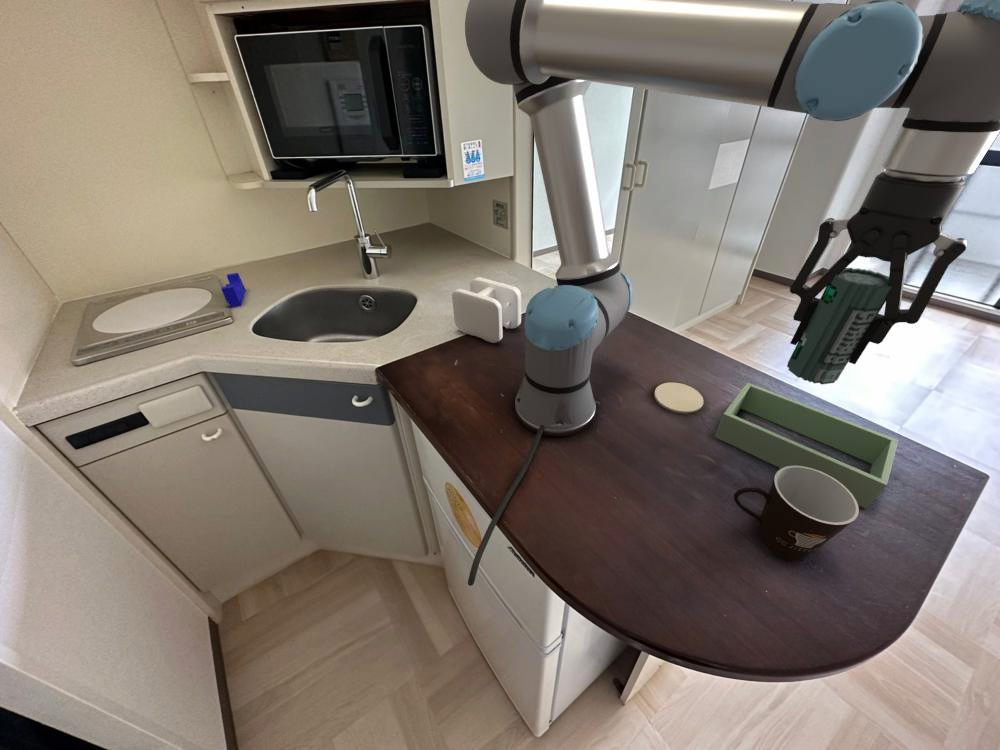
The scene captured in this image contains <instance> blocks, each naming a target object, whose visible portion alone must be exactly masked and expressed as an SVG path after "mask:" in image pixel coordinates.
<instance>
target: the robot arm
mask: <svg viewBox="0 0 1000 750" xmlns="http://www.w3.org/2000/svg"><path fill="white" fill-rule="evenodd" d="M464 35H465V42H466V47H467V51H468V53H469V56H470V58H471V60H472V62H473V64H474V65H475V67H476V68H477V69H478V71H479V72H480V73H481V74H482V75H483V76H485V77H486V78H487V79H489V80H490V81H492V82H494V83H497V84H500V85H507V86H508V85H509V86H512V88H513V92H514V96H515V100H516V101H515V102H516V105H517V109H519V110H520V111H521V112H523V113H524V114H526V115H527V116H528V117H529V119H530V124H531V128H532V133H533V137H534V142H535V147H536V152H537V156H538V160H539V165H540V170H541V175H542V179H543V185H544V190H545V194H546V199H547V203H548V208H549V212H550V217H551V222H552V226H553V227H552V228H553V230H554V236H555V240H556V245H557V251H558V255H559V260H560V266H559V268H557V270H556V272H555V274H554V275H555V280H556V285H555V286H554V287H546V288H544V289H542V290H540V291H539V292H537V293H535V294H534V295H532V297H531V298H530V299H529V302H528V303H527V305H526V307H525V316H524V321H523V329H524V376H523V378H522V382H521V384H520V385H519V389H518V391H517V394H516V396H515V400H514V407H515V408H514V410H515V415H516V417H517V419H518V421H519V422H520V424H522V425H523V426H524V428H526V429H528V430H530V431H531V432H533V433H535V437H534V439H533V442H532V444H531V447H530V448H529V452H528V454H527V456H526V459H525V461H524V463H523V464H522V467H521V469H520V470H519V472H518V474H517V475H516V477H515V479H514V480H513V481H512V483H511V485H510V487H509V488H508V490H507V492H506V493H505V496H504V497H503V498H502V500H501V503H500V504H499V505H498V508H497V509H496V511H495V513H494V515H493V517H492V519H491V520H490V523H489V524H488V526H487V529H486V531H485V533H484V535H483V537H482V540H481V541H480V543H479V546H478V548H477V551H476V553H475V554H474V555H475V556H474V559H473V561H472V564H471V568H470V571H469V574H468V575H469V576H468V578H467V585H468V586H469V587H472V586H473V585H474V584H475V581H476V578H477V573H478V569H479V566H480V563H481V561H482V557H483V555H484V552H485V550H486V548H487V545H488V544H489V541H490V538H491V537H492V534H493V532H494V530H495V528H496V526H497V524H498V522H499V520H500V518H501V516H502V515H503V513H504V510H505V509H506V507H507V505H508V504H509V502H510V500H511V498H512V496H513V494H514V493H515V491H516V489H517V488H518V486H519V484H520V483H521V481H522V479H523V478H524V476H525V474H526V473H527V470H528V469H529V466H530V465H531V462H532V460H533V458H534V455H535V452H536V450H537V447H538V445H539V443H540V440H541V438H542V436H545V437H551V438H565V437H570V436H574V435H577V434H580V433H582V432H583V431H585V430H586V429H587V428H589V427H590V425H591V424H592V423H593V421H594V419H595V414H596V400H595V398H594V394H593V391H592V386H591V382H590V375H591V367H592V360H593V355H594V352H595V350H596V349H597V348H598V347H599V346H600V344H601V343H602V342H603V341H604V340H605V339H606V338H607V337H608V336H609V335H610V334H611V333H612V332H613V331H614V330H615V328H616V327H618V326H619V325H620V324H621V323H622V322H623V321H624V319H625V318H626V316H627V314H628V312H629V311H630V309H631V307H632V304H633V298H634V290H633V285H632V283H631V280H630V278H629V277H628V275H627V274H626V273H624V272H623V271H622V269H621V265H620V259H619V258H618V257H617V256H615V255H614V254H612V253H611V252H609V246H608V240H607V234H606V228H605V221H604V215H603V214H604V213H603V209H602V202H601V197H600V191H599V184H598V177H597V171H596V165H595V159H594V152H593V147H592V141H591V135H590V128H589V121H588V116H587V115H588V114H587V109H586V103H585V97H586V96H585V95H586V94H587V92H588V90H589V88H590V86H591V85H592V83H598V84H599V83H600V84H606V85H613V86H618V87H619V86H620V87H626V88H632V89H640V90H647V91H653V92H661V93H668V94H675V95H681V96H688V97H695V98H703V99H711V100H716V101H724V102H730V103H737V104H743V105H751V106H757V107H765V108H772V109H775V110H781V111H787V112H794V113H802V114H808V115H810V117H812V118H813V119H816V120H819V121H826V122H827V121H829V122H844V121H849V120H852V119H856V118H858V117H860V116H862V115H864V114H865V113H868V112H870V111H872V110H874V109H880V108H881V109H885V108H886V109H900V108H901V109H908V112H907V115H906V116H905V118H904V120H903V122H902V124H901V126H900V127H899V129H898V131H897V133H896V134H895V137H894V139H893V141H892V143H891V145H890V148H889V149H888V151H887V153H886V156H885V158H884V160H883V161H882V163H881V166H882V168H883V169H885V171H882V172H880V173H879V174H877V175H876V176H875V177H874V179H873V182H872V184H871V185H870V187H869V190H868V192H867V193H866V196H865V198H864V200H863V202H862V203H861V206H860V207H859V209H858V211H857V212H856V213H854V214H853V215H852V216H851V217H850V218H847V219H844V218H843V219H836V218H834V217H828V218H826V219H825V220H823V222H822V223H821V224H820V225H819V228H818V233H817V234H818V235H817V241H816V242H815V244H814V246H813V248H812V249H811V251H810V253H809V254H808V257H807V258H806V260H805V262H804V263H803V265H802V267H801V268H800V270H799V272H798V274H797V276H796V277H795V278H794V280H793V283H792V284H791V286H790V288H789V293H791V295H792V294H793V295H796V296H798V297H799V298H800V302H799V303H798V306H797V308H796V310H795V312H794V314H793V321H796V322H799V325H798V327H797V329H796V330H795V332H794V334H793V337H792V338H791V340H790V343H789V344H790V345H794V346H797V344H798V342H799V340H800V338H801V336H802V334H803V332H804V330H805V328H806V326H807V324H808V322H809V320H810V318H811V316H812V314H813V312H814V310H815V308H816V306H817V304H818V302H819V300H820V298H818V297H817V296H818V295H819V294H820V293H821V292H822V291H823V290H825V288H826V286H827V285H828V284H829V283H830V282H832V281H833V279H834V277H835V275H836V274H837V275H839V274H840V273H841V272H842V271H843V270H844V269H845V268H848V267H849V266H850V264H852V263H853V262H854V261H855V260H856V259H857V258H858V257H862V258H876V259H878V260H880V261H883V262H888V263H889V274H888V277H889V282H888V286H891V289H890V291H889V292H888V294H887V297H886V302H885V304H884V305H885V306H884V314H881V313H878V315H877V316H876V318H875V319H874V321H873V323H872V324H871V326H870V328H869V329H868V331H867V332H866V334H865V336H864V337H863V339H862V340H861V342H860V344H859V345H858V347H857V348H856V350H855V352H854V353H853V355H852V357H851V358H850V360H849V362H848V363H849V364H852V365H856V364H857V362H858V360H859V359H860V358H861V356H862V355H863V353H864V351H865V350H866V348H867V347H868V345H869V344H870V343H873V344H876V345H880V344H881V343H883V341H884V340H885V338H886V337H887V335H888V334H889V332H890V331H891V330H892V327H893V326H895V325H896V324H899V323H906V324H910V325H914V324H916V323H919V321H920V319H921V317H922V315H923V314H924V311H925V310H926V308H927V307H928V303H929V302H930V301H931V299H932V297H933V295H934V293H935V291H936V290H937V287H938V286H939V285H940V282H941V281H942V278H943V277H944V275H945V273H946V271H947V269H948V267H949V266H950V265H951V264H952V263H953V262H954V261H955V260H957V259H958V258H959V257H960V256H961V255H962V254H964V253H965V251H966V250H967V244H968V240H967V239H966V238H964V237H957V238H956V237H953V236H950V235H948V234H946V233H943V222H944V220H945V218H946V217H947V215H948V214H949V212H950V211H951V209H952V207H953V205H954V204H955V202H956V201H957V199H958V198H959V196H960V195H961V193H962V192H963V190H964V188H965V186H966V185H967V184H966V183H965V182H966V181H965V179H963V178H964V177H966V176H970V175H971V174H974V172H975V171H976V169H977V168H978V166H979V165H980V163H981V161H982V160H983V158H984V157H985V155H986V153H987V152H988V150H989V148H990V147H991V145H992V144H993V142H994V141H995V139H996V138H997V136H998V135H999V133H1000V0H963V1H962V3H960V4H959V5H958V6H957V9H956V10H953V11H947V12H945V13H936V14H933V15H931V14H930V15H918V13H917V12H916V10H915V9H912V8H910V7H908V5H907V3H905V2H901V1H900V2H899V1H894V0H871V1H868V2H866V3H862V4H855V3H854V4H853V3H831V2H827V3H815V2H814V3H813V2H812V1H799V0H798V1H797V0H469V1H468V3H467V7H466V12H465V18H464ZM844 230H847V233H848V236H849V239H850V243H851V245H852V246H850V248H849V249H847V251H845V252H844V254H843V255H842V256H841V257H840V258H839V259H837V261H836V262H834V264H832V265H831V266H830V267H829V268H828V269H827V270H826V272H825V273H823V275H821V276H820V277H819V278H818V279H817V281H815V283H813V284H812V285H811V286H809V285H807V282H808V280H809V279H810V277H811V276H812V274H813V272H814V270H815V269H816V267H817V265H818V264H819V262H820V260H821V259H822V257H823V255H824V254H825V252H826V250H827V249H828V248H829V245H830V244H831V242H832V240H833V239H835V238H837V237H839V235H840V234H841V232H842V231H844ZM932 244H934V245H935V247H934V249H933V251H932V254H933V256H934V257H935V258H934V260H933V262H932V264H931V265H930V267H929V270H928V271H927V274H926V276H925V277H924V279H923V281H922V283H921V285H920V287H919V289H918V290H917V293H916V294H915V296H914V298H913V300H912V302H911V304H910V306H909V308H908V309H907V308H905V309H904V308H903V309H901V305H902V299H903V291H904V285H905V277H906V271H907V265H908V259H909V256H910V255H912V254H914V253H916V252H918V251H919V250H921V249H923V248H926V247H927V246H929V245H932Z"/></svg>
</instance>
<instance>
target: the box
mask: <svg viewBox="0 0 1000 750" xmlns="http://www.w3.org/2000/svg"><path fill="white" fill-rule="evenodd" d="M741 410H743V411H744V412H745V411H746V412H748V413H750V414H753V415H755V416H756V417H757V416H758V417H759V418H761V419H765V420H767V421H769V422H771V423H773V424H777V425H779V426H781V427H783V428H786V429H789V430H790V431H793V432H796V433H798V434H800V435H803V436H805V437H808V438H810V439H812V440H814V441H816V442H819V443H822V444H824V445H826V446H829V447H831V448H834V449H836V450H838V451H840V452H842V453H845V454H847V455H850V456H852V457H855V458H857V459H860V460H862V461H864V462H866V463H869V464H871V467H870V470H869V473H868V472H866V471H863V470H861V469H859V468H857V467H854V466H852V465H850V464H847V463H845V462H843V461H840V460H838V459H836V458H834V457H832V456H829V455H826V454H824V453H822V452H820V451H817V450H815V449H813V448H811V447H808V446H806V445H804V444H801V443H800V442H797V441H794V440H792V439H790V438H787V437H785V436H782V435H781V434H778V433H776V432H775V431H771V430H769V429H766V428H765V427H762V426H761V425H757V424H755V423H753V422H751V421H748V420H746V419H743V418H741V417H739V416H737V414H738V413H739V412H740V411H741ZM713 436H714V438H716V439H718V440H720V441H723V443H726V444H728V445H730V446H733V447H735V448H737V449H739V450H740V451H743V452H744V453H745V452H746V454H747V453H748V454H749V455H752V456H754V457H756V458H758V459H760V460H762V461H764V462H767V463H768V464H770V465H772V466H775V467H776V468H779V469H782V468H784V467H787V466H805V467H809V468H813V469H816V470H819V471H821V472H823V473H825V474H828V475H829V476H831V477H833V478H834V479H836V480H837V481H839V482H840V483H842V484H843V485H844V486H845V487H846V488H847V489H848V490H849V491H850V492H851V493H852V495H853V496H854V498H855V499H856V501H857V504H858V506H859V507H860V508H863V509H864V510H867V509H868V508H869V507H870V506H871V504H872V503H873V502H875V500H876V499H877V498H878V496H879V495H880V494H881V493H882V492H883V491H884V490H885V488H886V487H887V486H888V484H889V483H888V482H889V479H890V474H891V471H892V467H893V464H894V460H895V454H896V451H897V447H898V443H899V440H898V439H897V438H895V437H892V436H889V435H886V434H884V433H881V432H878V431H876V430H873V429H870V428H868V427H865V426H863V425H860V424H858V423H856V422H852V421H850V420H847V419H845V418H842V417H839V416H836V415H834V414H831V413H828V412H826V411H823V410H821V409H818V408H815V407H813V406H810V405H808V404H805V403H802V402H800V401H797V400H795V399H792V398H789V397H787V396H784V395H781V394H779V393H776V392H774V391H771V390H769V389H766V388H763V387H760V386H757V385H756V384H753V383H750V382H746V383H745V385H744V386H743V387H742V388H741V390H740V392H739V393H738V394H737V395H736V397H734V400H733V401H732V402H731V403H730V405H729V406H728V407H727V408H726V410H725V411H724V412H723V414H722V417H721V419H720V421H719V424H718V426H717V429H716V431H715V433H714V435H713Z"/></svg>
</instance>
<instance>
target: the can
mask: <svg viewBox="0 0 1000 750" xmlns="http://www.w3.org/2000/svg"><path fill="white" fill-rule="evenodd" d="M888 282H889V275H885V274H883V273H880V272H878V271H877V272H875V271H873V270H871V269H865V268H859V267H858V268H853V267H846V268H845V269H844V270H843V271H842V272H841V273H840V274H839V275H837V274H836V275H835V277H834V279H833V281H832V282H830V283H829V284H828V285H827V286H826V287H825V288H824V289H823V290H824V291H823V292H822V295H821V296H820V298H819V299H820V300H819V302H818V304H817V306H816V308H815V310H814V312H813V314H812V316H811V318H810V320H809V322H808V324H807V326H806V328H805V330H804V332H803V334H802V336H801V338H800V340H799V341H798V343H797V344H796V345H795V348H794V349H793V351H792V354H791V356H790V358H789V360H788V361H787V364H786V367H787V368H788V371H789V372H791V373H792V374H793V375H794V376H795V377H796V378H798V379H802V380H803V381H804V382H809V383H813V384H820V385H829V384H835V382H837V381H838V380H839V378H840V376H841V375H842V373H843V371H844V369H845V368H846V367H847V365H848V363H849V360H850V358H851V357H852V355H853V353H854V352H855V350H856V348H857V347H858V345H859V344H860V342H861V340H862V339H863V337H864V336H865V334H866V332H867V331H868V329H869V328H870V326H871V324H872V323H873V321H874V319H875V318H876V316H877V315H878V314H880V312H881V310H882V309H883V307H884V305H886V297H887V294H888V292H889V291H890V289H891V286H888Z"/></svg>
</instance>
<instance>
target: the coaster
mask: <svg viewBox="0 0 1000 750" xmlns="http://www.w3.org/2000/svg"><path fill="white" fill-rule="evenodd" d="M653 394H654V395H653V397H654V399H655V401H656V402H657V404H658V405H660V406H661V407H662V408H664V410H665V409H666V410H668V411H670V412H672V413H677V414H680V415H681V414H682V415H690V414H695V413H697V412H699V411H700V410H701V409H702V408H703V406H704V403H705V402H704V397H703V396H702V394H701V393H700V392H699V391H698V390H697V389H696V388H694V387H692V386H690V385H687V384H684V383H680V382H675V381H674V382H672V381H671V382H670V381H669V382H664V383H661V384H659V385H658V386H657V387H655V390H654V393H653Z"/></svg>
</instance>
